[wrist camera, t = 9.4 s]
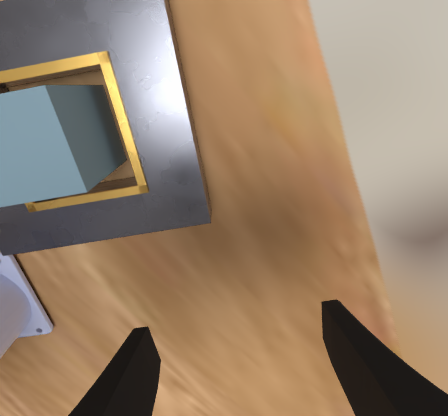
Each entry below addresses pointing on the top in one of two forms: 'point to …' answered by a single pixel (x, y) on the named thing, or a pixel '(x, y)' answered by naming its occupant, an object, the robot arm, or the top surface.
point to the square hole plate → (125, 112)
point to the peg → (55, 142)
